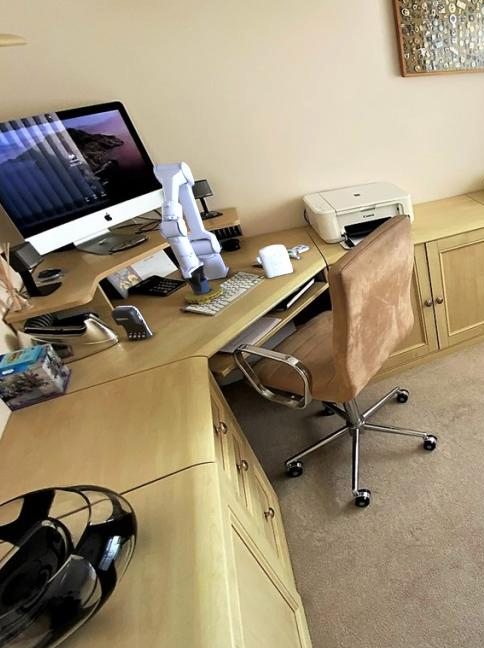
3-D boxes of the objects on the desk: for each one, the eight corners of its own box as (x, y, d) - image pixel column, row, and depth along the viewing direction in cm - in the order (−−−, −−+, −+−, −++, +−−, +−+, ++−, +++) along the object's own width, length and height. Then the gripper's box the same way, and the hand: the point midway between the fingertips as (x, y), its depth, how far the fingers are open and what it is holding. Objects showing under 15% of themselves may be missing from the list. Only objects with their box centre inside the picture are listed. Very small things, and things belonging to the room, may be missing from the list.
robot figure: (272, 269, 178) (317, 251, 193) (270, 262, 176) (315, 244, 191) (251, 261, 186) (295, 244, 201) (248, 254, 184) (293, 237, 199)
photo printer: (292, 269, 178) (283, 241, 171) (294, 272, 175) (285, 244, 168) (265, 275, 174) (255, 247, 167) (267, 279, 171) (257, 251, 164)
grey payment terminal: (125, 342, 136) (105, 311, 130) (133, 335, 139) (114, 305, 133) (147, 341, 136) (128, 310, 130) (154, 334, 140) (137, 304, 133)
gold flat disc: (204, 306, 154) (201, 301, 153) (179, 302, 157) (176, 297, 156) (230, 291, 163) (228, 286, 162) (206, 287, 166) (203, 282, 165)
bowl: (195, 289, 160) (190, 278, 158) (212, 286, 162) (207, 276, 159) (192, 296, 156) (187, 285, 153) (209, 293, 157) (204, 282, 155)
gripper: (193, 259, 146) (209, 293, 153) (201, 244, 157) (215, 277, 165) (169, 263, 144) (187, 297, 151) (179, 247, 155) (195, 280, 163)
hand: (200, 287), depth 158 cm, fingers closed on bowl, 5 cm apart
